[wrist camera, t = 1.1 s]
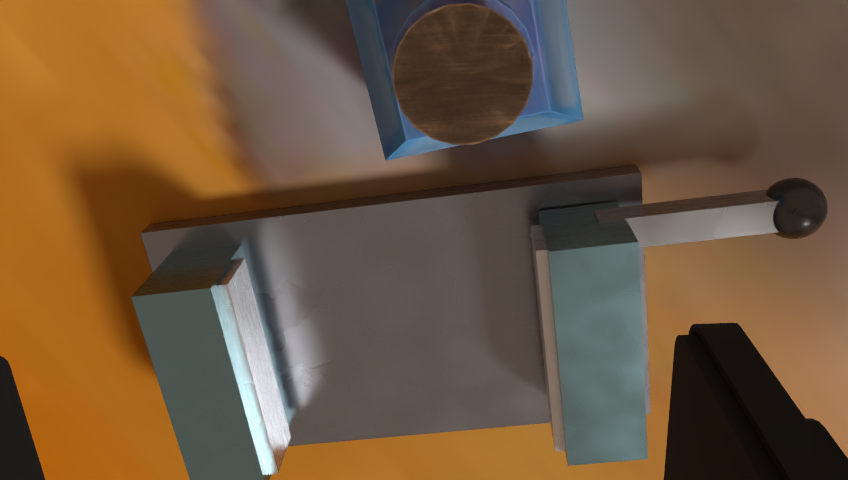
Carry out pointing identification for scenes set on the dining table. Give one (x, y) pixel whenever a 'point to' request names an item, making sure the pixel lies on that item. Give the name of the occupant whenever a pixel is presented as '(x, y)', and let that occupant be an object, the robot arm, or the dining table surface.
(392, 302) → the vise bed
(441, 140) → the perfume bottle
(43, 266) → the dining table surface
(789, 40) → the dining table surface
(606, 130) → the dining table surface
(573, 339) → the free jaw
